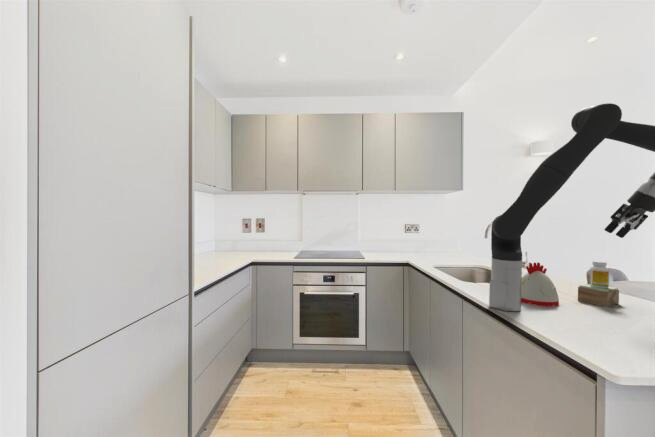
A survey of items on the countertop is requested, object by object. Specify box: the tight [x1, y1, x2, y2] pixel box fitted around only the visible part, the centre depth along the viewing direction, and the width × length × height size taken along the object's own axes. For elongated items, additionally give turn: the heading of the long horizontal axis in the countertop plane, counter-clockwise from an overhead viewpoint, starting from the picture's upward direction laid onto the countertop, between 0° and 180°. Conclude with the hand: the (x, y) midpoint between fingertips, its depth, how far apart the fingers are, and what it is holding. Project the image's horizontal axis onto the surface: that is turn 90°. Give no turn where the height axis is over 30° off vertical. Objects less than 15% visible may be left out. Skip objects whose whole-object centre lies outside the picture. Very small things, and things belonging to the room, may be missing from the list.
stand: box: [577, 283, 620, 308], centre depth 115 cm, size 9×9×6 cm
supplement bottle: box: [589, 260, 610, 288], centre depth 114 cm, size 5×5×10 cm
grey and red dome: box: [521, 262, 560, 307], centre depth 115 cm, size 14×14×15 cm
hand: (613, 234), depth 106 cm, fingers open, 8 cm apart
